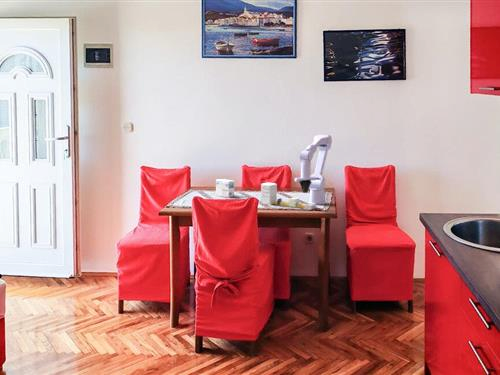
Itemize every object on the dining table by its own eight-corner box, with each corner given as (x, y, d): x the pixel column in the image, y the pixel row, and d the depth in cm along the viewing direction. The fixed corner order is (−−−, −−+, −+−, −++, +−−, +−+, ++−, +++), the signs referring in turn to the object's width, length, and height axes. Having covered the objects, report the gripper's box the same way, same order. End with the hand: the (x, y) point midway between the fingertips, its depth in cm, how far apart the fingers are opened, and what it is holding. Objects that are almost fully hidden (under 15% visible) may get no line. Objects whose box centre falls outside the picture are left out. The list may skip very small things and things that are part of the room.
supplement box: (267, 201, 403) (267, 182, 401) (276, 203, 398) (277, 183, 396) (260, 203, 397) (260, 183, 395) (269, 205, 392) (270, 185, 390)
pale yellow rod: (311, 207, 386) (311, 202, 385) (309, 208, 383) (309, 203, 382) (276, 203, 397) (276, 198, 396) (273, 204, 394) (273, 198, 393)
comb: (315, 207, 387) (315, 203, 386) (311, 209, 380) (311, 205, 380) (309, 206, 389) (309, 202, 388) (304, 209, 382) (305, 204, 382)
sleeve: (298, 205, 391) (298, 198, 390) (295, 207, 386) (295, 199, 386) (292, 205, 393) (292, 197, 392) (289, 206, 388) (289, 198, 387)
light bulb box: (234, 196, 420) (234, 180, 418) (228, 197, 414) (228, 181, 412) (221, 194, 425) (221, 178, 423) (215, 195, 420) (215, 179, 418)
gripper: (311, 168, 389) (311, 190, 392) (292, 170, 382) (291, 192, 385) (318, 170, 383) (317, 192, 386) (298, 171, 376) (297, 194, 379)
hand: (304, 192), depth 385 cm, fingers closed
